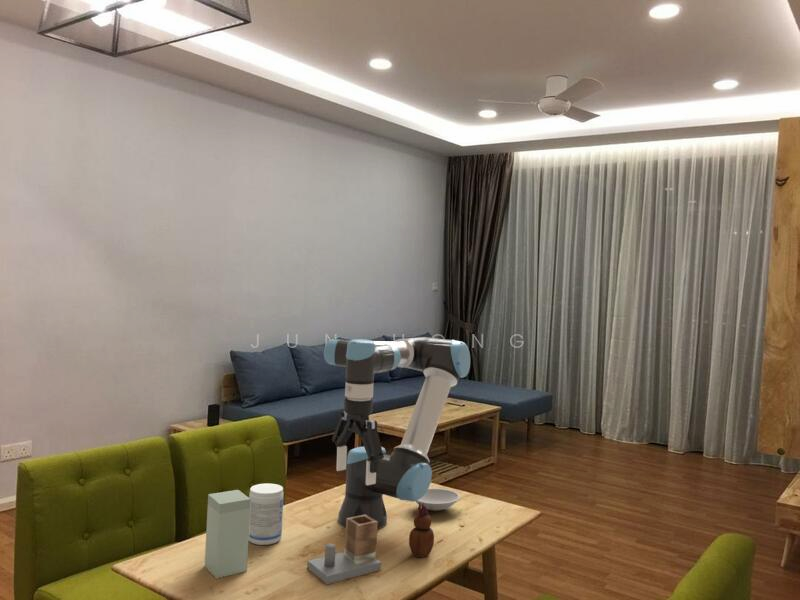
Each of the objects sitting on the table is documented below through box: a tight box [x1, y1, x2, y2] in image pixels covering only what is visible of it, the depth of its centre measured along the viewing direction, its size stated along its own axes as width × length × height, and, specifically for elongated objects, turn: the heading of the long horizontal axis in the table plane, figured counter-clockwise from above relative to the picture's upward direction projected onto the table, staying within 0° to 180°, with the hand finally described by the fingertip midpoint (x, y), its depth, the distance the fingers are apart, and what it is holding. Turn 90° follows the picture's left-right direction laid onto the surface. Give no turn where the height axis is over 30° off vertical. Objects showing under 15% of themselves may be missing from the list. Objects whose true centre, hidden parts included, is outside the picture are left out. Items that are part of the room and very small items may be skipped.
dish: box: [415, 487, 461, 511], centre depth 211 cm, size 18×14×5 cm
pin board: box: [307, 543, 382, 585], centre depth 164 cm, size 16×10×7 cm, turn 127°
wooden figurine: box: [408, 503, 435, 558], centre depth 175 cm, size 7×6×15 cm
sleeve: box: [343, 514, 378, 564], centre depth 167 cm, size 6×6×10 cm
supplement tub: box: [248, 483, 284, 546], centre depth 180 cm, size 10×10×15 cm
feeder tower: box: [204, 489, 251, 579], centre depth 161 cm, size 8×8×18 cm
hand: (355, 476), depth 169 cm, fingers open, 13 cm apart
